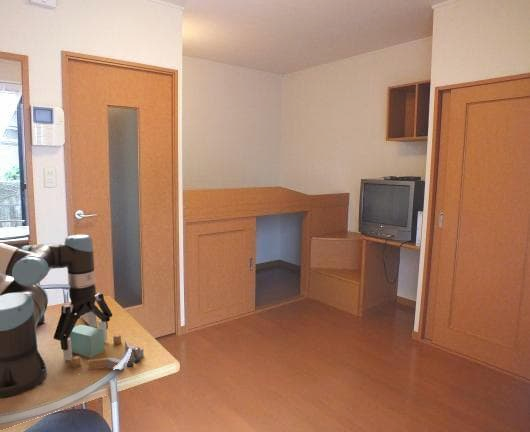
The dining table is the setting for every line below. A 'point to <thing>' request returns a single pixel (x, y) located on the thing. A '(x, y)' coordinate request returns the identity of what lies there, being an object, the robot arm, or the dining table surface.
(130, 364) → the bosses
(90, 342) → the pale green block
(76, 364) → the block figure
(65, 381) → the dining table surface
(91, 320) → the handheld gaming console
